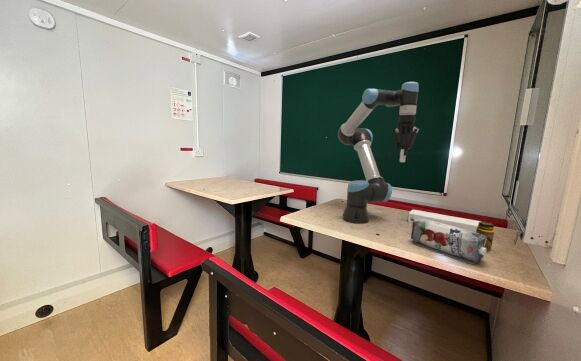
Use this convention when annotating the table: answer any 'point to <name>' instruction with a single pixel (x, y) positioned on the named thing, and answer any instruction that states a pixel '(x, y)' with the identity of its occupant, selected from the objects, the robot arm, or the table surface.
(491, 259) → the table surface
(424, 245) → the mat
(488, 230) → the condiment
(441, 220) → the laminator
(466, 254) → the juice carton
